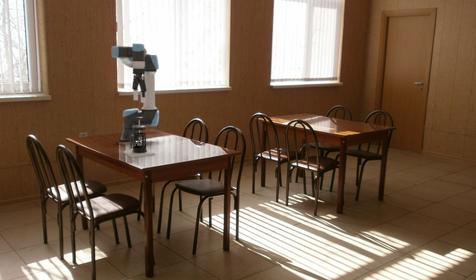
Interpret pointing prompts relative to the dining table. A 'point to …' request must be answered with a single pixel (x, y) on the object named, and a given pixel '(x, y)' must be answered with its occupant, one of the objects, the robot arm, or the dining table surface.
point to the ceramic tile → (138, 153)
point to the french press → (137, 147)
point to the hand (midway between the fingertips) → (139, 101)
